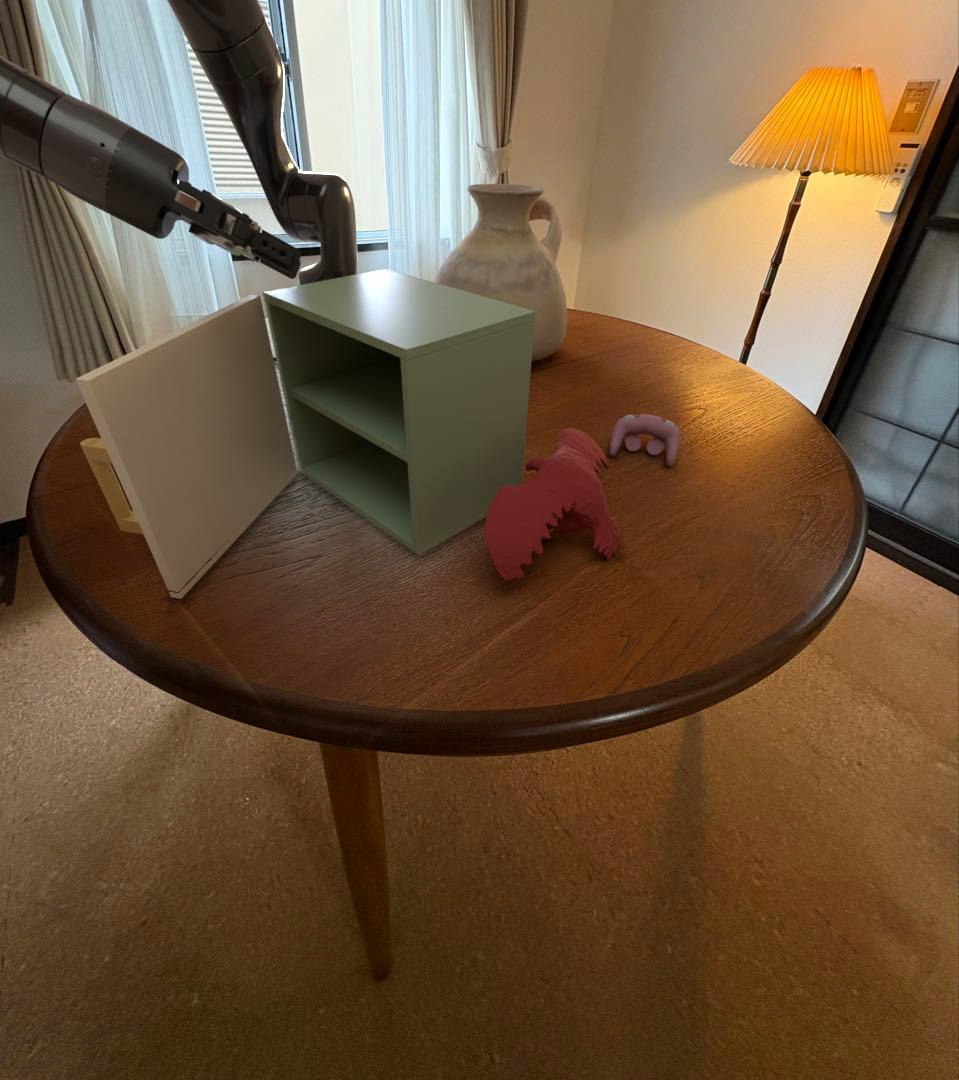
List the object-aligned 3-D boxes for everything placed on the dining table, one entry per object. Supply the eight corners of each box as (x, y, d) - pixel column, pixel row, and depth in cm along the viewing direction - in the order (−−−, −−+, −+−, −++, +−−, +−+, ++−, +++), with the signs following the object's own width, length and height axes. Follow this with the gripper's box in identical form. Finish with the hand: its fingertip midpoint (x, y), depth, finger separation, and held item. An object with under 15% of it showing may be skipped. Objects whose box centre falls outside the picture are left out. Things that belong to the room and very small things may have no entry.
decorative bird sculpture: (612, 514, 80) (554, 426, 77) (669, 491, 73) (609, 394, 71) (522, 643, 60) (441, 531, 58) (589, 626, 54) (502, 500, 51)
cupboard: (418, 556, 65) (406, 349, 50) (299, 471, 79) (262, 292, 64) (521, 496, 75) (535, 311, 61) (399, 431, 89) (386, 268, 75)
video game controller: (673, 466, 85) (684, 420, 84) (674, 467, 81) (686, 419, 79) (608, 455, 88) (618, 410, 86) (606, 455, 83) (616, 408, 82)
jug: (398, 359, 115) (387, 187, 96) (484, 318, 138) (488, 173, 119) (522, 391, 103) (535, 202, 85) (593, 341, 126) (616, 184, 108)
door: (118, 587, 60) (7, 370, 45) (249, 467, 80) (201, 290, 65) (181, 599, 58) (88, 380, 44) (297, 473, 79) (260, 295, 64)
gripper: (107, 98, 43) (314, 219, 49) (151, 149, 55) (310, 239, 62) (78, 197, 44) (283, 301, 51) (127, 224, 57) (285, 304, 63)
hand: (298, 267), depth 56 cm, fingers open, 8 cm apart
